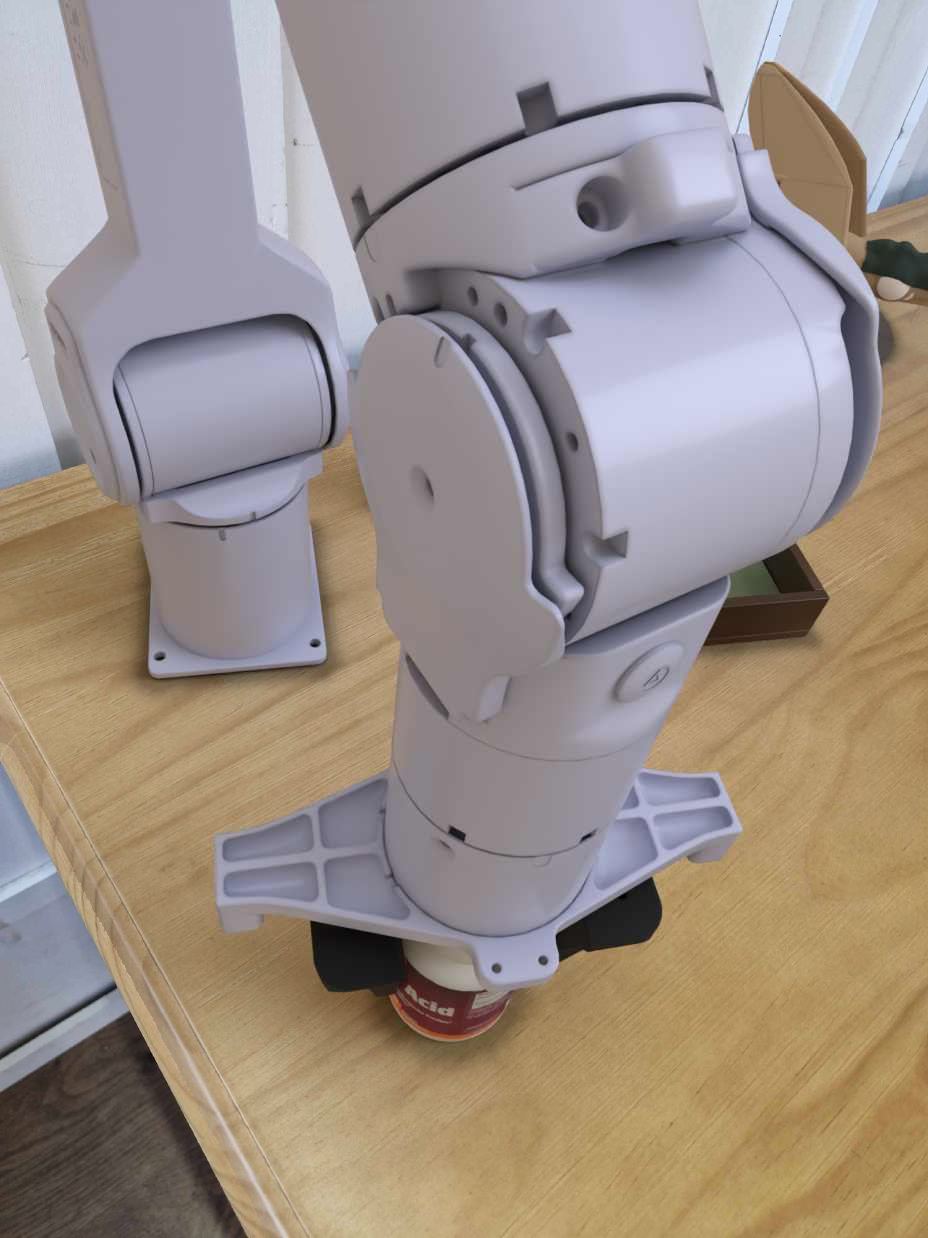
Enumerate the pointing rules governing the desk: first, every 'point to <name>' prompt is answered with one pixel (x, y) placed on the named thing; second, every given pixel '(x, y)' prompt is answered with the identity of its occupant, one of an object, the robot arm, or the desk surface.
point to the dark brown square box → (770, 600)
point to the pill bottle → (445, 994)
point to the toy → (831, 185)
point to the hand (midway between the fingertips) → (454, 954)
